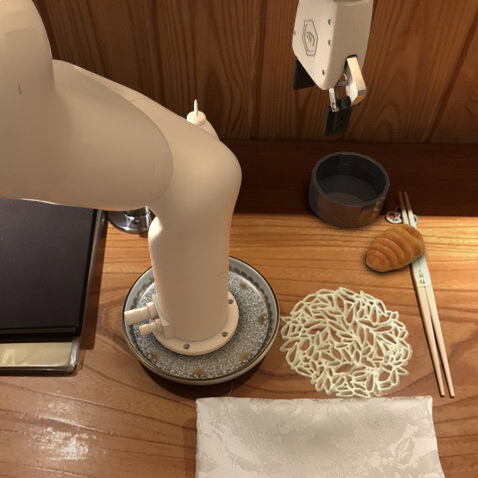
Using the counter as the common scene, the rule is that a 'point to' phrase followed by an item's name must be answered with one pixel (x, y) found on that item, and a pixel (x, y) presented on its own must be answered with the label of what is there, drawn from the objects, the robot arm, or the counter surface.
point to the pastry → (395, 248)
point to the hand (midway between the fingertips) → (318, 109)
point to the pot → (348, 189)
